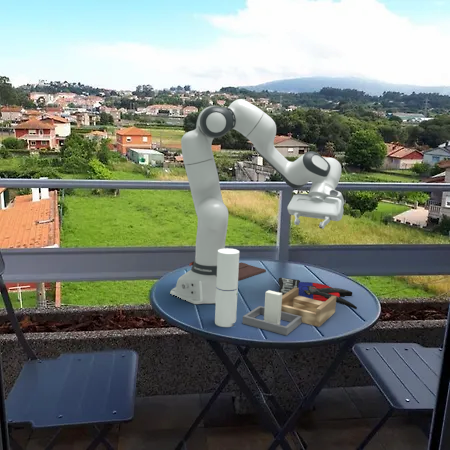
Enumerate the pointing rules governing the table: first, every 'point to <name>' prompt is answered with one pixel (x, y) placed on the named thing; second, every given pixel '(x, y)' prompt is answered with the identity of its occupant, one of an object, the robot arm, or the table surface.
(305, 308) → the offcut middle
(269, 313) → the white upright pillar
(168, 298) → the table surface
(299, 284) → the black red irregular piece
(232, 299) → the cylindrical container
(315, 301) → the offcut top
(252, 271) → the notebook
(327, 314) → the tray
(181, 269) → the table surface
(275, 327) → the charcoal tray
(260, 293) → the table surface
